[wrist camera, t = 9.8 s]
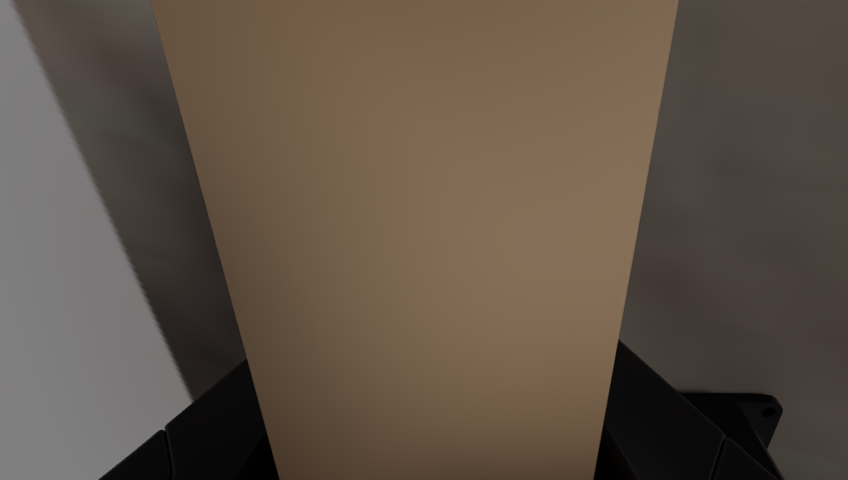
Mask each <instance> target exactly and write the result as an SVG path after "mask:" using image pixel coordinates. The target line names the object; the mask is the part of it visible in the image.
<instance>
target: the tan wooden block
mask: <svg viewBox="0 0 848 480" xmlns="http://www.w3.org/2000/svg"><path fill="white" fill-rule="evenodd" d="M150 1H151V5H152V9H153V12H154V16H155V20H156V23H157V27H158V31H159V35H160V38H161V42H162V46H163V49H164V53H165V57H166V60H167V64H168V68H169V72H170V75H171V79H172V83H173V86H174V90H175V94H176V97H177V101H178V105H179V109H180V112H181V116H182V120H183V123H184V127H185V131H186V134H187V138H188V142H189V146H190V149H191V153H192V157H193V160H194V164H195V168H196V171H197V175H198V179H199V183H200V186H201V190H202V194H203V197H204V201H205V205H206V208H207V212H208V216H209V220H210V223H211V227H212V231H213V234H214V238H215V242H216V246H217V249H218V253H219V257H220V260H221V264H222V268H223V271H224V275H225V279H226V283H227V286H228V290H229V294H230V297H231V301H232V305H233V308H234V312H235V316H236V320H237V323H238V327H239V331H240V334H241V338H242V342H243V345H244V349H245V353H246V357H247V360H248V364H249V368H250V371H251V375H252V379H253V382H254V386H255V390H256V394H257V397H258V401H259V405H260V408H261V412H262V416H263V419H264V423H265V427H266V431H267V434H268V438H269V442H270V445H271V449H272V453H273V457H274V460H275V464H276V468H277V471H278V475H279V479H280V480H593V478H594V472H595V467H596V461H597V456H598V450H599V444H600V439H601V433H602V428H603V422H604V416H605V411H606V405H607V400H608V394H609V388H610V383H611V377H612V372H613V366H614V360H615V355H616V349H617V343H618V338H619V332H620V327H621V321H622V315H623V310H624V304H625V299H626V293H627V287H628V282H629V276H630V271H631V265H632V259H633V254H634V248H635V243H636V237H637V231H638V226H639V220H640V215H641V209H642V203H643V198H644V192H645V187H646V181H647V175H648V170H649V164H650V159H651V153H652V147H653V142H654V136H655V130H656V125H657V119H658V114H659V108H660V102H661V97H662V91H663V86H664V80H665V74H666V69H667V63H668V58H669V52H670V46H671V41H672V35H673V30H674V24H675V18H676V13H677V7H678V2H679V0H150Z"/></svg>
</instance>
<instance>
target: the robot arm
mask: <svg viewBox="0 0 848 480" xmlns="http://www.w3.org/2000/svg"><path fill="white" fill-rule="evenodd" d="M782 411H783V409H782V407H781V405H780V404H779V402H778V401H777V399H776V398H775V397H773V396H771V395H733V394H680V393H679V392H677V391H676V390H675V389H674V388H673V387H672V386H671V385H670V384H668V383H667V382H666V381H665V380H664V379H663V378H662V377H661V376H659V375H658V374H657V373H656V372H655V371H654V370H653V369H652V368H650V367H649V366H648V365H647V364H646V363H645V362H644V361H643V360H641V359H640V358H639V357H638V356H637V355H636V354H635V353H634V352H632V351H631V350H630V349H629V348H628V347H627V346H626V345H625V344H623V343H622V342H621V341H620V340H619V339H618V343H617V349H616V355H615V360H614V366H613V372H612V377H611V383H610V388H609V394H608V400H607V405H606V411H605V416H604V422H603V428H602V433H601V439H600V444H599V450H598V456H597V461H596V467H595V472H594V478H593V480H784V478H783V476H782V475H781V473H780V471H779V470H778V468H777V466H776V464H775V463H774V461H773V459H772V458H771V456H770V454H769V452H768V451H767V448H768V446H769V443H770V441H771V439H772V436H773V434H774V431H775V429H776V427H777V424H778V422H779V419H780V417H781V415H782ZM99 480H280V479H279V475H278V471H277V468H276V464H275V460H274V457H273V453H272V449H271V445H270V442H269V438H268V434H267V431H266V427H265V423H264V419H263V416H262V412H261V408H260V405H259V401H258V397H257V394H256V390H255V386H254V382H253V379H252V375H251V371H250V368H249V364H248V360H247V358H246V359H245V360H244V361H242V362H241V363H240V364H239V365H238V366H236V367H235V368H234V369H233V370H232V371H230V372H229V373H228V374H227V375H226V376H224V377H223V378H222V379H221V380H220V381H218V382H217V383H216V384H215V385H214V386H212V387H211V388H210V389H209V390H208V391H206V392H205V393H204V394H203V395H202V396H200V397H199V398H198V399H197V400H195V401H194V402H193V403H192V404H191V405H189V406H188V407H187V408H186V409H185V410H183V411H182V412H181V413H180V414H179V415H177V416H176V417H175V418H174V419H173V420H171V421H170V422H169V423H168V424H167V425H166V426H165V431H164V430H159V431H158V432H157V433H155V434H154V435H153V436H152V437H151V438H150V439H148V440H147V441H146V442H145V443H143V444H142V445H141V446H140V447H139V448H137V449H136V450H135V451H134V452H132V453H131V454H130V455H129V456H128V457H126V458H125V459H124V460H123V461H121V462H120V463H119V464H117V465H116V466H115V467H114V468H112V469H111V470H110V471H109V472H107V474H105V475H104V476H102V477H101V478H100V479H99Z"/></svg>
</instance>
